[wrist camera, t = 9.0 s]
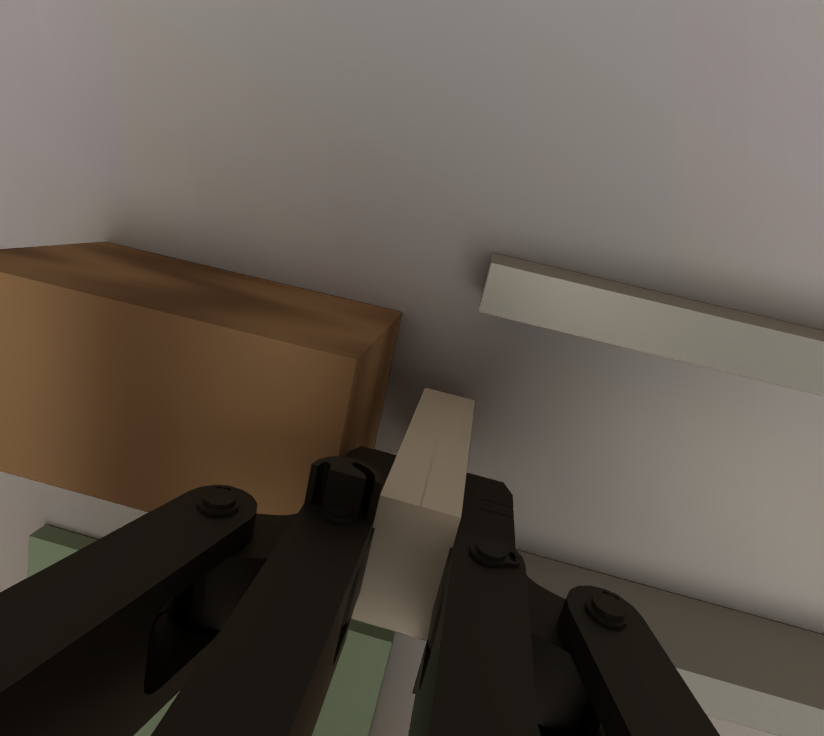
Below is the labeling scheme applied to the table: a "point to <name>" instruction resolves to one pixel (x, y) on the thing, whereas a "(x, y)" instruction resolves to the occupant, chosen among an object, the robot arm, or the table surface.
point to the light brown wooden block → (179, 376)
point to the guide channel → (663, 611)
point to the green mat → (352, 680)
